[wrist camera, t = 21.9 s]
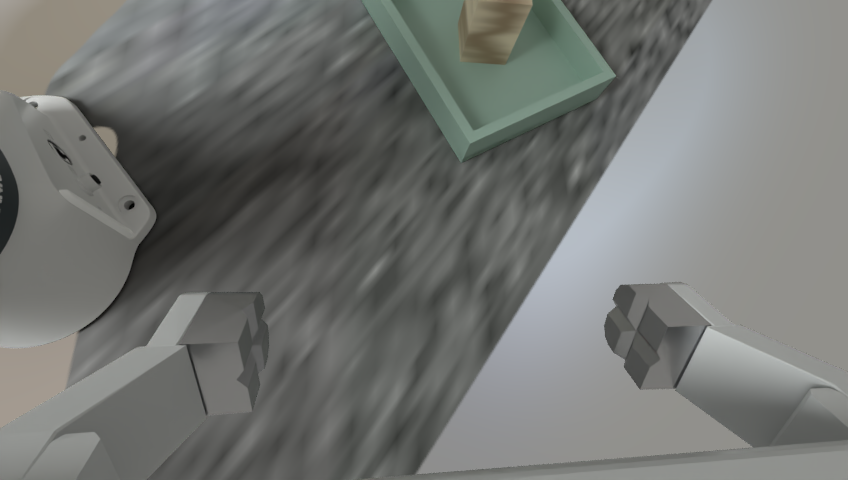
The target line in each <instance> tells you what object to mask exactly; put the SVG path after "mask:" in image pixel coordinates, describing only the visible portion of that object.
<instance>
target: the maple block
mask: <svg viewBox="0 0 848 480" xmlns="http://www.w3.org/2000/svg"><path fill="white" fill-rule="evenodd" d="M532 5H533V4H532V0H464V2H463V6H462V10H461V14H460V17H459V21H458V35H459V54H460V62H470V63H485V64H499V65H505V64H506V62H507V60H508V58H509V55H510V53H511V51H512V49H513V47H514V45H515V42H516V40H517V38H518V36H519V34H520V32H521V29H522V27H523V25H524V23H525V21H526V19H527V16H528V14H529V12H530V10H531V8H532Z"/></svg>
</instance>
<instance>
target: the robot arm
mask: <svg viewBox="0 0 848 480" xmlns="http://www.w3.org/2000/svg"><path fill="white" fill-rule="evenodd" d="M37 106H38V107H37ZM35 107H37V108H35ZM133 203H135V206H134V208H133V209H130V210H129V206H130V205H131V204H133ZM155 221H156V212H155V210H154V208H153V207H152V205H151V204H150V203H149V202H148V200H147V199H146V198H145V196H144V195H143V194H142V192H141V191H140V190H139V188H138V187H137V186H136V184H135V183H134V182H133V180H132V179H131V178H130V176H129V175H128V174H127V172H126V171H125V170H124V168H123V167H122V166H121V164H120V163H119V162H118V160H117V159H116V158H115V156H114V155H113V154H112V153H111V151H110V150H109V149H108V147H107V146H106V144H105V143H104V142H103V140H102V139H101V138H100V136H99V135H98V134H97V132H96V131H95V130H94V129H93V127H92V126H91V125H90V123H89V122H88V121H87V119H86V118H85V117H84V115H83V114H82V113H81V111H80V110H79V109H78V107H77V106H76V105H75V104H74V103H72V102H71V101H69V100H68V99H66V98H64V97H58V96H47V95H41V96H25V97H18V96H16V95H15V94H12V93H9V92H7V91H2V90H0V347H5V348H27V347H35V346H40V345H44V344H48V343H51V342H54V341H57V340H60V339H62V338H65V337H67V336H69V335H71V334H73V333H75V332H77V331H79V330H80V329H82V328H83V327H85V326H86V325H88V324H89V323H91V322H92V321H93V320H95V319H96V318H97V317H98V316H99V315H100V314H101V313H102V312H103V311H105V309H106V308H107V307H108V306H109V305H110V304H111V303H112V302H113V300H114V299H115V298H116V296H117V295H118V294H119V292H120V290H121V289H122V287H123V285H124V283H125V281H126V279H127V277H128V274H129V272H130V269H131V265H132V262H133V258H134V254H135V252H136V249H137V247H138V245H139V244H140V242H141V241H142V240H143V239H144V237H145V236H146V235H147V234H148V232H149V231H150V230H151V228H152V227H153V225H154V223H155ZM613 300H614V303H615V305H616V307H615V308H614V309H613V310H612V311H610V312H609V313H608V314H607V318H606V322H605V325H604V327H605V337H606V340H607V342H608V345H609V346H610V348H611V349H612V351H613V352H614V353H615V354H617V355H618V356H620V357H622V358H623V359H625V363H624V368H625V369H626V371H627V372H628V373H629V375H630V376H631V378H632V379H633V380H634V382H635V383H636V385H637V386H638V387H639V389H642V390H643V389H676V390H675V391H677V392H678V393H679V394H681V395H682V396H684V397H685V398H686V399H688V400H689V401H690V402H692V403H693V404H695V405H696V406H697V407H699V408H700V409H702V410H703V411H704V412H706V413H707V414H708V415H710V416H711V417H712V418H714V419H715V420H717V421H718V422H719V423H721V424H722V425H724V426H725V427H726V428H728V429H729V430H731V431H732V432H733V433H735V434H736V435H737V436H739V437H740V438H741V439H743V440H744V441H746V442H747V443H748V444H750V445H751V446H752V447H754V448H742V449H730V450H717V451H704V452H693V453H680V454H667V455H655V456H642V457H631V458H617V459H605V460H592V461H580V462H568V463H555V464H542V465H529V466H518V467H506V468H492V469H480V470H467V471H454V472H443V473H429V474H417V475H404V476H392V477H380V478H367V479H355V480H848V372H847V371H845V370H843V369H841V368H838V367H836V366H834V365H831V364H829V363H827V362H825V361H822V360H820V359H817V358H815V357H813V356H811V355H809V354H806V353H804V352H802V351H799V350H797V349H795V348H792V347H790V346H788V345H786V344H783V343H781V342H779V341H777V340H774V339H772V338H770V337H767V336H765V335H763V334H760V333H758V332H756V331H754V330H751V329H749V328H747V327H745V326H742V325H734V324H733V323H732V322H731V321H729V320H728V319H727V318H726V317H725V316H724V315H722V314H721V313H720V312H719V311H718V310H717V309H716V308H714V307H713V306H712V305H711V304H710V303H709V302H708V301H706V300H705V299H704V298H703V297H702V296H701V295H699V294H698V293H697V292H696V291H695V290H694V289H692V288H691V287H690V286H689V285H687V284H684V283H682V282H672V283H660V284H634V285H620V286H619V288H618V289H617V290H616V292H615V294H614V297H613ZM264 309H265V306H264V301H263V296H262V294H261V293H260V292H210V293H209V292H189V293H183V294H181V295H180V296H179V297H178V299H177V300H176V302H175V303H174V305H173V306H172V308H171V309H170V311H169V312H168V314H167V315H166V317H165V318H164V320H163V321H162V323H161V325H160V326H159V328H158V329H157V331H156V332H155V334H154V335H153V337H152V338H151V340H150V341H149V343H148V344H147V346H146V347H137V348H135V349H133V350H132V351H130V352H128V353H127V354H125V355H123V356H122V357H120V358H118V359H116V360H115V361H113V362H111V363H110V364H108V365H106V366H105V367H103V368H101V369H100V370H98V371H96V372H94V373H93V374H91V375H89V376H88V377H86V378H84V379H83V380H81V381H79V382H78V383H76V384H74V385H73V386H71V387H69V388H67V389H66V390H64V391H62V392H61V393H59V394H57V395H56V396H54V397H52V398H51V399H49V400H47V401H45V402H44V403H42V404H40V405H39V406H37V407H35V408H34V409H32V410H30V411H29V412H27V413H25V414H24V415H22V416H20V417H19V418H17V419H15V420H13V421H12V422H10V423H8V424H7V425H5V426H3V427H2V428H0V480H146V479H147V478H148V477H149V476H150V475H151V474H152V473H153V472H154V471H155V470H156V469H157V468H158V467H159V466H160V465H161V464H162V463H163V462H164V461H165V460H166V459H167V458H168V457H169V456H170V455H171V454H172V453H173V452H174V451H175V450H176V449H177V448H178V447H179V446H180V445H181V444H182V443H183V442H184V441H185V440H186V439H187V438H188V437H189V436H190V435H191V434H192V433H193V432H194V431H195V430H196V429H197V428H198V427H199V426H200V425H201V423H202V422H203V421H204V420H205V419H206V418H207V416H208V415H220V414H231V413H243V412H252V411H253V408H254V404H255V401H256V397H257V394H258V390H259V387H260V381H259V376H258V374H259V373H260V372H261V371H262V370H263V369H264V368H265V366H266V362H267V358H268V349H269V332H268V325H267V324H266V323H265V322H264V321H263V320H262V319H261V318H262V315H263V312H264Z"/></svg>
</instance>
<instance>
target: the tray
mask: <svg viewBox="0 0 848 480" xmlns="http://www.w3.org/2000/svg"><path fill="white" fill-rule="evenodd" d="M362 2H363V4H364V6H365V7H366V9H367V11H368V12H369V14H370V16H371V17H372V19H373V20H374V22H375V24H376V25H377V27H378V29H379V30H380V32H381V33H382V35H383V37H384V38H385V40H386V42H387V43H388V45H389V46H390V48H391V50H392V51H393V53H394V55H395V56H396V58H397V60H398V61H399V63H400V64H401V66H402V68H403V69H404V71H405V73H406V74H407V76H408V77H409V79H410V81H411V82H412V84H413V86H414V87H415V89H416V90H417V92H418V94H419V95H420V97H421V99H422V100H423V102H424V104H425V105H426V107H427V108H428V110H429V112H430V113H431V115H432V117H433V118H434V120H435V121H436V123H437V125H438V126H439V128H440V130H441V131H442V133H443V134H444V136H445V138H446V139H447V141H448V143H449V144H450V146H451V148H452V149H453V151H454V152H455V154H456V156H457V157H458V159H459V161H460V162H461V163H462V162H464V161H466V160H468V159H471V158H473V157H475V156H477V155H479V154H481V153H483V152H485V151H487V150H490V149H492V148H494V147H496V146H498V145H500V144H502V143H504V142H507V141H509V140H511V139H513V138H515V137H517V136H519V135H521V134H523V133H526V132H528V131H530V130H532V129H534V128H536V127H538V126H540V125H543V124H545V123H547V122H549V121H551V120H553V119H555V118H557V117H559V116H562V115H564V114H566V113H568V112H570V111H572V110H574V109H576V108H578V107H581V106H583V105H585V104H587V103H589V102H591V101H593V100H595V99H597V98H598V96H599V95H600V94H601V93H602V92H603V91H604V90H605V88H606V87H607V86H608V85H609V84H610V83H611V82H612V80H613V79H614V78H615V77H616V75H615V74H614V72H613V71H612V69H611V68H610V67H609V65H608V64H607V63H606V61H605V60H604V58H603V57H602V56H601V54H600V53H599V52H598V50H597V49H596V48H595V46H594V45H593V43H592V42H591V41H590V39H589V38H588V37H587V35H586V34H585V32H584V31H583V30H582V28H581V27H580V26H579V24H578V23H577V21H576V20H575V19H574V17H573V16H572V15H571V13H570V12H569V10H568V9H567V8H566V6H565V5H564V4H563V2H562V1H561V0H532V4H533V5H532V8H531V10H530V12H529V14H528V16H527V19H526V21H525V23H524V25H523V27H522V29H521V32H520V34H519V36H518V38H517V40H516V42H515V45H514V47H513V49H512V51H511V53H510V55H509V58H508V60H507V62H506V64H505V65H499V64H485V63H470V62H460V54H459V35H458V21H459V17H460V14H461V10H462V6H463V2H464V0H362Z"/></svg>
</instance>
